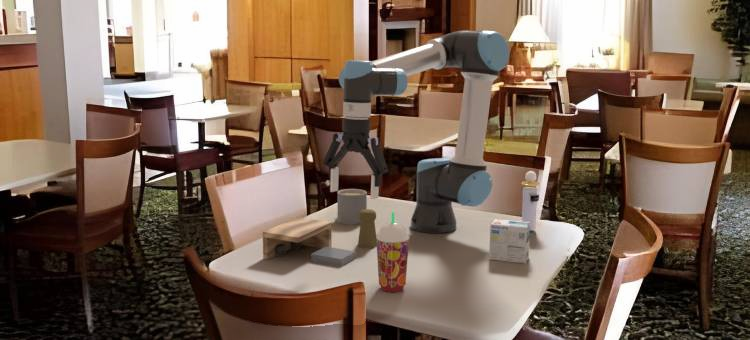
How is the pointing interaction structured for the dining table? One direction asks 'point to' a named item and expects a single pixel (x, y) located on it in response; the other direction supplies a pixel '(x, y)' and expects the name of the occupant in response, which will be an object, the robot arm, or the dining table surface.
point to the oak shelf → (296, 236)
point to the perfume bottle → (530, 199)
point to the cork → (367, 229)
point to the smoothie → (392, 256)
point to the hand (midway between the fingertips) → (353, 194)
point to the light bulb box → (509, 241)
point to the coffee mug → (351, 205)
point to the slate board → (333, 256)
